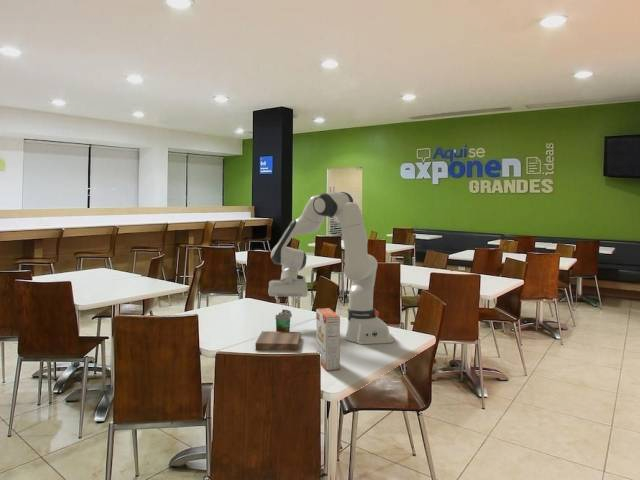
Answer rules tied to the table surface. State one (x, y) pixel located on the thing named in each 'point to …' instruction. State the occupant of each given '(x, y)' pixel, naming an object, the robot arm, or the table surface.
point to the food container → (283, 321)
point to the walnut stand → (278, 341)
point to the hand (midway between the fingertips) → (287, 302)
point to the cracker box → (328, 338)
